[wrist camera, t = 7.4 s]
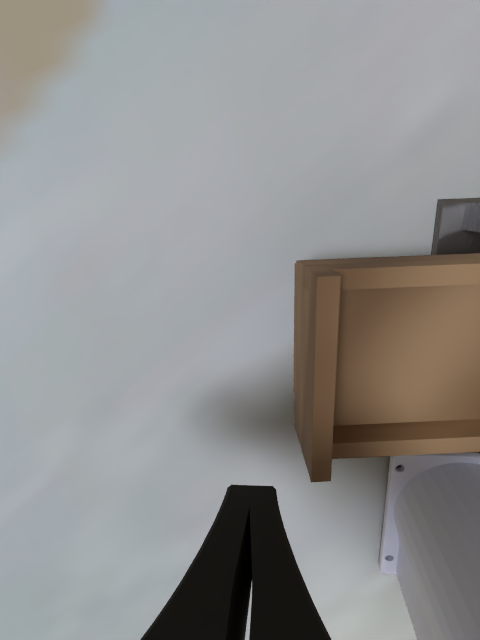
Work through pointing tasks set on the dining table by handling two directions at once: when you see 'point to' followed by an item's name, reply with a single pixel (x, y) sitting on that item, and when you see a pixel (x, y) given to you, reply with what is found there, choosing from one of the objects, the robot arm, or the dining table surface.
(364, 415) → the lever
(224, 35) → the dining table surface
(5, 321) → the dining table surface
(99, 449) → the dining table surface
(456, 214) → the stand
